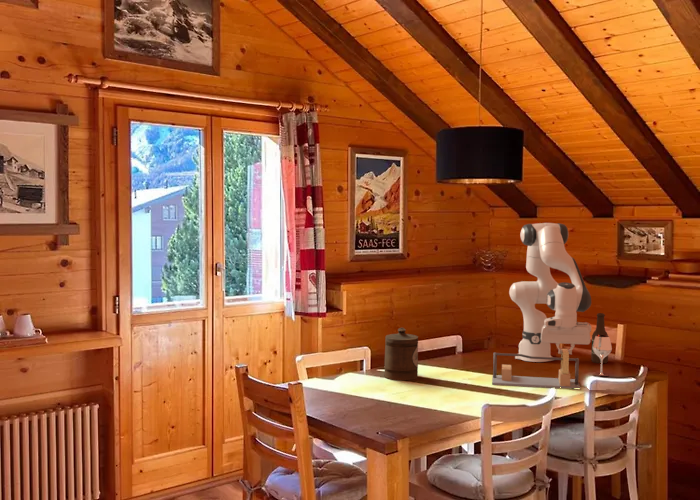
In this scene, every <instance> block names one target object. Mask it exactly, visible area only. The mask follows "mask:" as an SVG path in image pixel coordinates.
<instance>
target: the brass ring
mask: <svg viewBox="0 0 700 500" xmlns="http://www.w3.org/2000/svg"><path fill="white" fill-rule="evenodd" d="M561 349H562V354H560V355H561V356H560V358H563V360H560V369H561V371H562V374H568V370H569V364H570V362H569V361H570V360H569V358H570V354H569V352H568V348H561ZM569 371H570V370H569Z"/></svg>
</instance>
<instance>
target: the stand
mask: <svg viewBox="0 0 700 500" xmlns="http://www.w3.org/2000/svg"><path fill="white" fill-rule="evenodd" d="M497 353H498V352H493V358H492V359H493V362H492V363H493V368H492V369H493V370H492V371H493V372H492V373H493V374H492V376H491V377H492V380H491V384H492V385H491V386H506V387H507V386H508V387H527V388H541V389H542V388H546V389H552V388H551V387H555V388H554V389H559V388H560V387H561V388H580V389H581V386H580V383H579V376H580V375H579V373H580V369H579V366H580V359H579V358H578V357H577V358H575V359H576V361H574V362H575V365H574V370H575V371H574V378H571V373H570V370H568V374H562V371H561V368H560V369H558V377H555V378H554V377H541V376H539V377H538V376H524V375H522V376H521V375H512V364H501V374H498V375H497V361H498V360H497V359H498V355H497Z"/></svg>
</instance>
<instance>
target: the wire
mask: <svg viewBox="0 0 700 500" xmlns="http://www.w3.org/2000/svg"><path fill="white" fill-rule="evenodd" d="M496 353H497V356H506V357H507V356H509V357H515V356H522V357H526V358H530V359H549V360H552V361H561V360H563V358H561V357H553V356H552V357H532V356H527V355H523V354H518V353H505V352H502V353H501V352H496ZM569 361H570V362H571V361H574V362H575V361H576V359H575V358H572V357H571V358H570V357H569Z"/></svg>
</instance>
